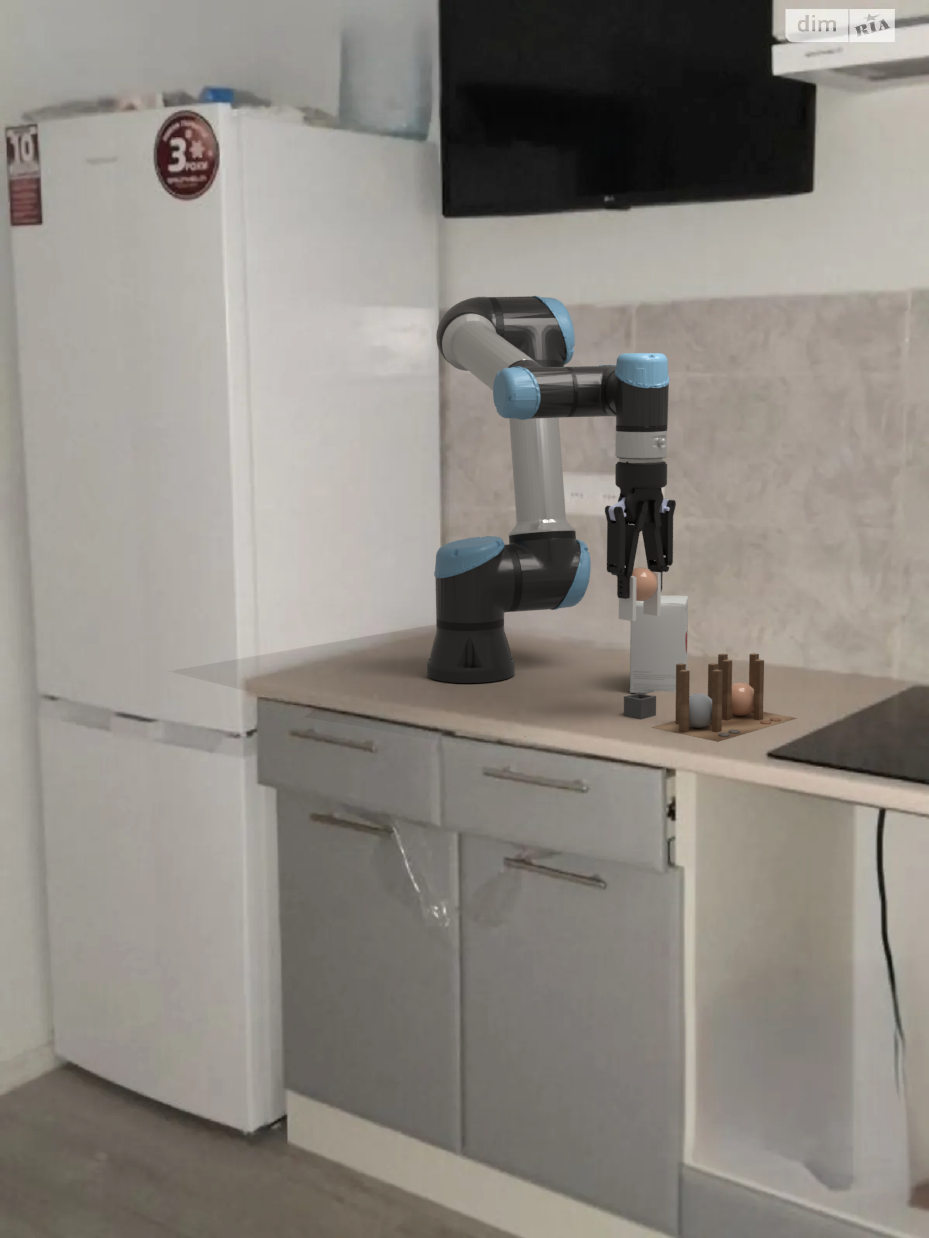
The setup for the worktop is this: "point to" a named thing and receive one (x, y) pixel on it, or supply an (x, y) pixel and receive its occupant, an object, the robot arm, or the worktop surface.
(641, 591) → the ball loose
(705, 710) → the ball
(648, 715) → the stand
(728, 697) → the rack
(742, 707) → the ball
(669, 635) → the supplement box
